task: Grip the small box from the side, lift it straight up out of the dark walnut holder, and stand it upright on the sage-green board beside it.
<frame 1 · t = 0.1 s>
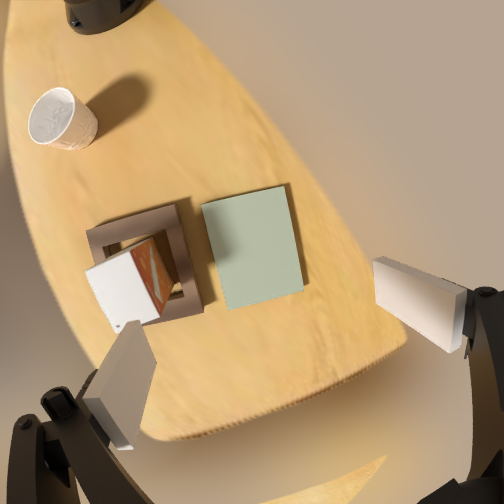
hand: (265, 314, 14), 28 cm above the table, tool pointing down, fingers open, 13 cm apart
white cup: (80, 130, 35), on the table
small box: (146, 267, 41), resting in walnut holder
walnut holder: (145, 268, 40), on the table
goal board: (253, 247, 42), on the table
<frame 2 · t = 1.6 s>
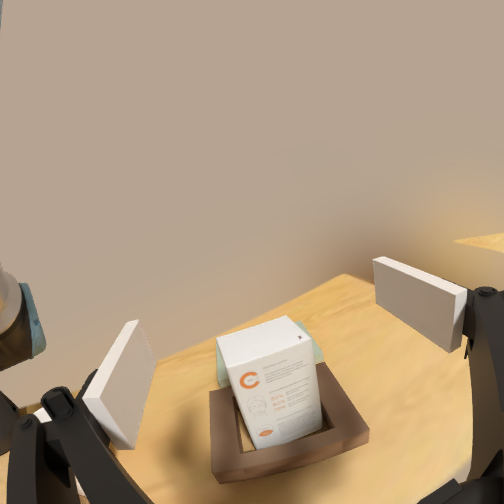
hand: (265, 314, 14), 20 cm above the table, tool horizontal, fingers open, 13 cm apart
small box: (282, 426, 29), resting in walnut holder
walnut holder: (281, 425, 29), on the table
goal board: (265, 355, 45), on the table
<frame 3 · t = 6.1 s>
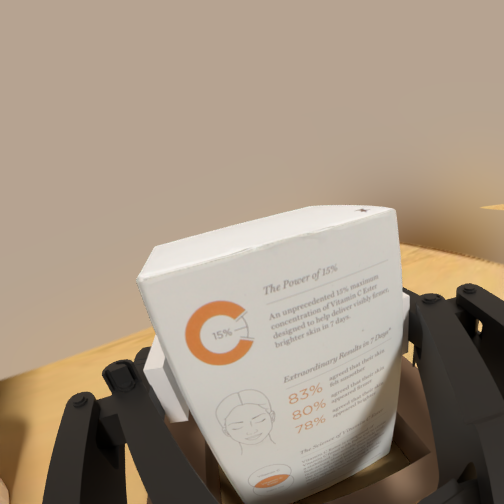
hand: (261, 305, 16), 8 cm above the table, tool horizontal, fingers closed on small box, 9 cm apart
small box: (303, 454, 13), resting in walnut holder, touching gripper
walnut holder: (303, 453, 13), on the table
when the fingers open (11 cm above the table, at t = 12.1 s): small box drops 1 cm, resting on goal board.
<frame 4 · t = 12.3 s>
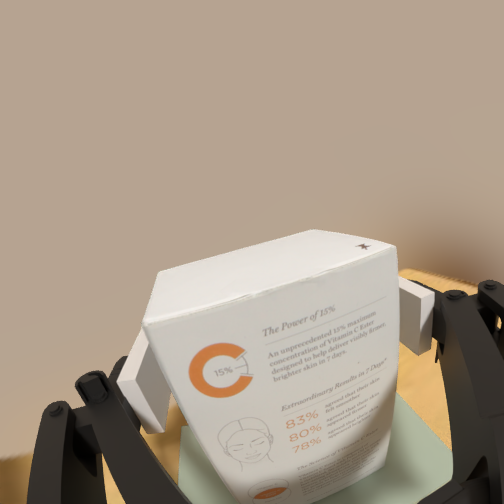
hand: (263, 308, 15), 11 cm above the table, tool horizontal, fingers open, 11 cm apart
small box: (302, 465, 13), point 1 cm above the table, touching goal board
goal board: (306, 473, 13), on the table
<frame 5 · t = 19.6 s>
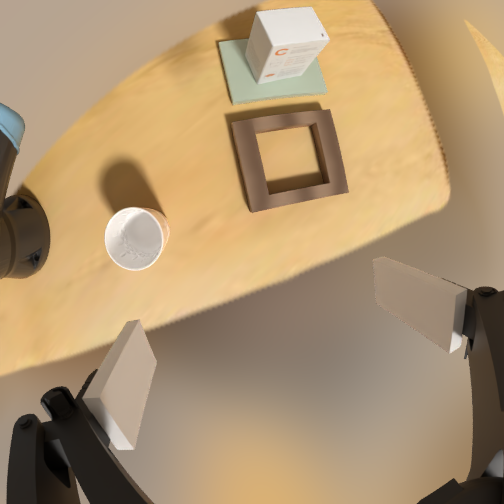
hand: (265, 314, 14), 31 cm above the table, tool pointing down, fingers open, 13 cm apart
white cup: (149, 230, 43), on the table
small box: (272, 65, 39), point 1 cm above the table, touching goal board
walnut holder: (289, 158, 43), on the table
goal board: (272, 68, 40), on the table
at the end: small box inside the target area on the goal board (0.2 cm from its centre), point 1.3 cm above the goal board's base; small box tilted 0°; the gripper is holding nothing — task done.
